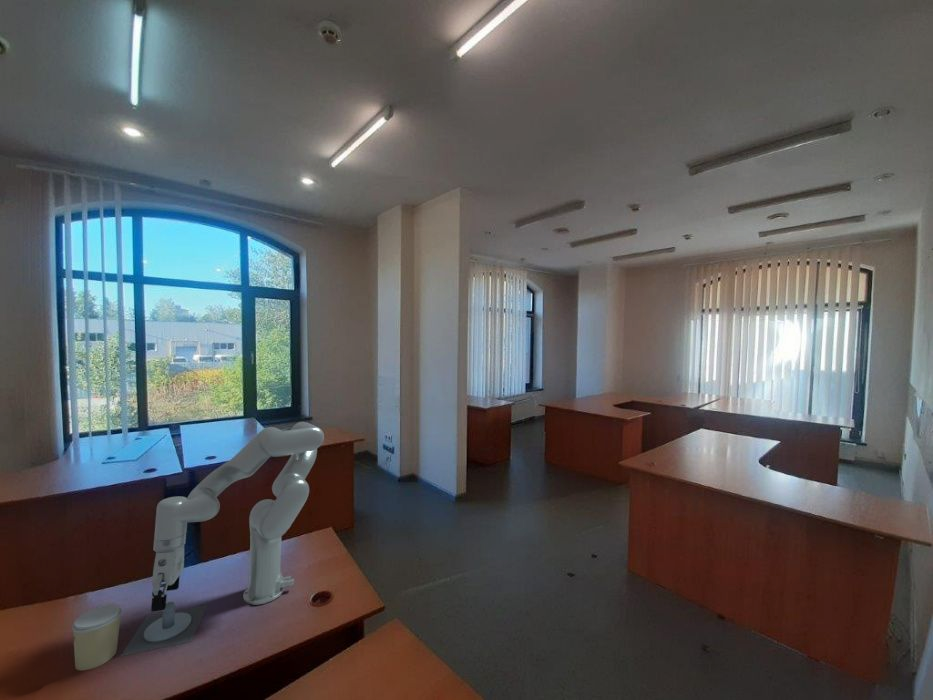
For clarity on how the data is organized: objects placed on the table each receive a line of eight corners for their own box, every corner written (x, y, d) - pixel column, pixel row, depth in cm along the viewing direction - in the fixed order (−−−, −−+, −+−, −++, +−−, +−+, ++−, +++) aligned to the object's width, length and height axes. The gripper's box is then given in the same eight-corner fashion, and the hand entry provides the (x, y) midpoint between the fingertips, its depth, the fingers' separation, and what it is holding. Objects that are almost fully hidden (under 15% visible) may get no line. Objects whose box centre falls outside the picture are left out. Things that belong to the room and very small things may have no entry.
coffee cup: (93, 647, 103) (95, 603, 103) (129, 645, 104) (131, 602, 104) (59, 676, 94) (61, 628, 94) (99, 674, 95) (101, 627, 95)
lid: (196, 611, 117) (197, 587, 117) (183, 637, 107) (184, 610, 107) (153, 619, 113) (154, 594, 113) (136, 646, 103) (137, 619, 103)
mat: (208, 606, 120) (208, 605, 120) (190, 643, 105) (190, 641, 105) (147, 618, 115) (147, 616, 115) (119, 658, 100) (120, 656, 100)
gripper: (174, 553, 103) (169, 616, 103) (194, 526, 119) (190, 580, 119) (140, 557, 101) (135, 621, 100) (166, 529, 117) (162, 584, 116)
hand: (165, 599), depth 109 cm, fingers open, 9 cm apart
